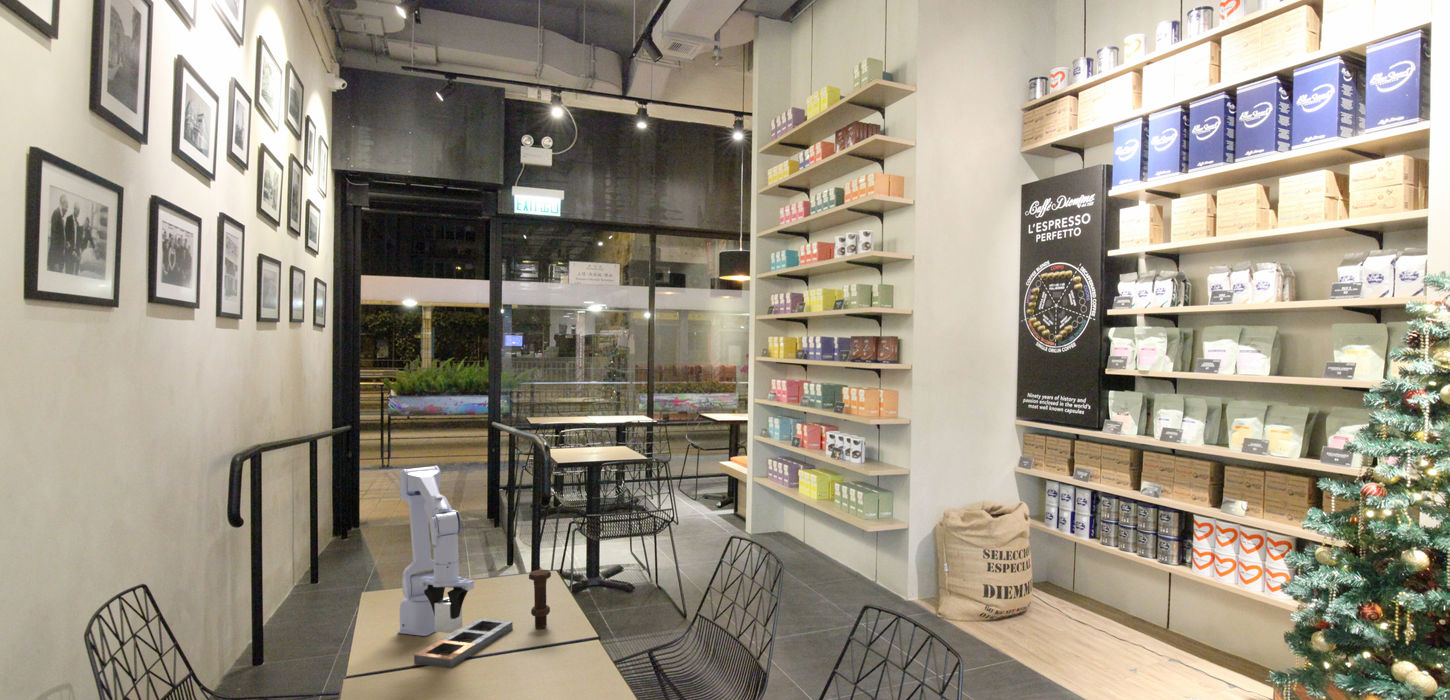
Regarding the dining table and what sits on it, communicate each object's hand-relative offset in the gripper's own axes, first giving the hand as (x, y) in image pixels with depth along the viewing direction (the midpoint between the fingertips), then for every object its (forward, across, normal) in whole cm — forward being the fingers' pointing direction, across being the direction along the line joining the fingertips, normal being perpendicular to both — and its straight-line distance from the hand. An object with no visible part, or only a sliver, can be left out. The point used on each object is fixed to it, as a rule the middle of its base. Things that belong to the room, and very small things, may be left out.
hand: (447, 616), depth 181 cm
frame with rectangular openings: (+10, 0, +7) cm, 12 cm away
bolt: (+10, +12, +23) cm, 28 cm away
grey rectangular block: (+3, 0, 0) cm, 3 cm away
